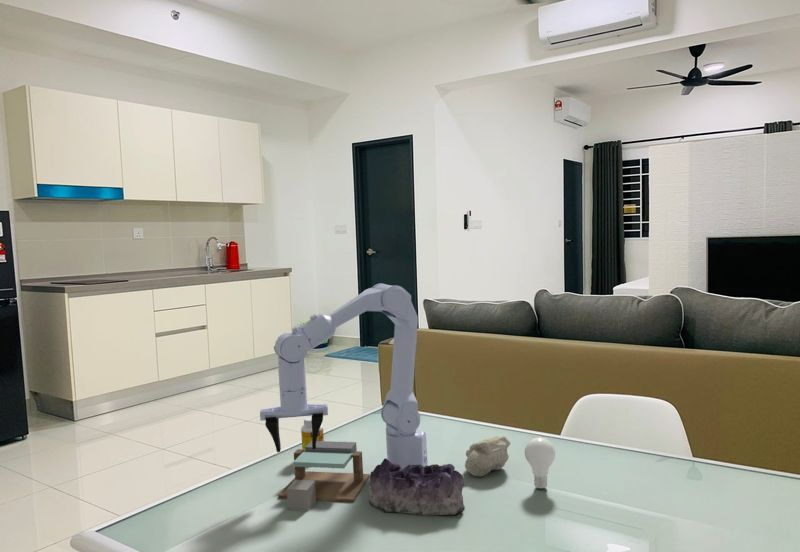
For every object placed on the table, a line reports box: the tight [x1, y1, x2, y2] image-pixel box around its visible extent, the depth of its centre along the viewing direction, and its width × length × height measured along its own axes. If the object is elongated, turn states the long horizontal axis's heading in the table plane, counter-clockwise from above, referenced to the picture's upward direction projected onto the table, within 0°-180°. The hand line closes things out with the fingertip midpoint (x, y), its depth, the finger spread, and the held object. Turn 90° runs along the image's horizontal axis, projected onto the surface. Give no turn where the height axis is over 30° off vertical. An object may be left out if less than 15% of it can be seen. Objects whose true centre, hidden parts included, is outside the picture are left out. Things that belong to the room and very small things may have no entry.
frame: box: [277, 448, 371, 503], centre depth 131 cm, size 17×13×7 cm
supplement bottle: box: [300, 416, 325, 452], centre depth 149 cm, size 6×6×10 cm
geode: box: [368, 457, 466, 516], centre depth 121 cm, size 20×12×10 cm, turn 82°
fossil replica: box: [464, 435, 511, 478], centre depth 136 cm, size 12×8×10 cm
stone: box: [286, 480, 317, 512], centre depth 123 cm, size 4×4×4 cm
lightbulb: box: [524, 436, 556, 490], centre depth 126 cm, size 6×6×11 cm
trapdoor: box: [292, 440, 358, 470], centre depth 133 cm, size 12×11×2 cm
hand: (296, 449), depth 129 cm, fingers open, 7 cm apart
